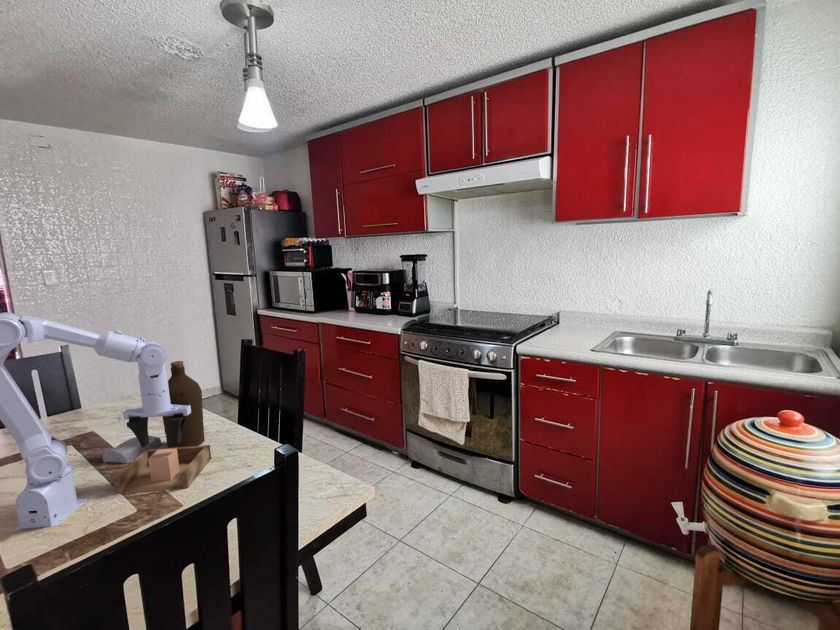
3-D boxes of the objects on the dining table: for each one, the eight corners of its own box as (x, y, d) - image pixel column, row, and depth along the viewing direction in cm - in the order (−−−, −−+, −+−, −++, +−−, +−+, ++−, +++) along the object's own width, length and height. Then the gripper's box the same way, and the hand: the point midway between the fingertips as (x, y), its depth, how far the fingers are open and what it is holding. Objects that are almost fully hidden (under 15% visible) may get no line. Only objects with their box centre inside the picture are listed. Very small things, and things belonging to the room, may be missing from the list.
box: (188, 490, 96) (186, 472, 96) (115, 496, 95) (112, 478, 94) (211, 460, 110) (209, 445, 110) (148, 465, 109) (146, 449, 108)
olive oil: (215, 440, 122) (206, 359, 119) (182, 456, 113) (171, 369, 109) (190, 434, 127) (181, 356, 123) (157, 450, 117) (146, 365, 113)
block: (171, 480, 100) (168, 457, 99) (151, 481, 99) (148, 458, 99) (179, 470, 104) (176, 448, 103) (160, 472, 104) (157, 449, 103)
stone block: (99, 470, 111) (129, 466, 108) (95, 453, 110) (124, 448, 108) (138, 451, 122) (165, 447, 120) (133, 435, 122) (161, 431, 120)
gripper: (193, 384, 103) (199, 434, 105) (132, 387, 102) (139, 439, 104) (180, 393, 96) (187, 447, 98) (114, 397, 95) (122, 452, 97)
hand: (161, 444), depth 101 cm, fingers open, 7 cm apart
